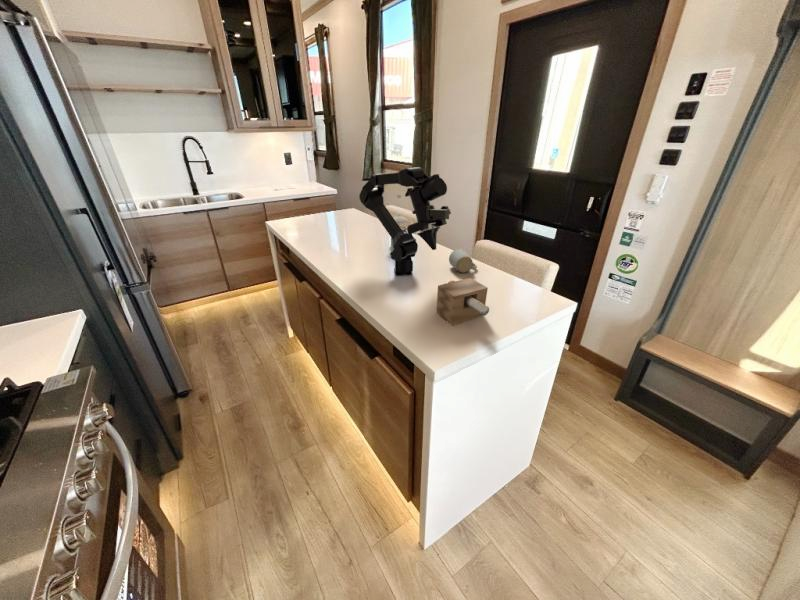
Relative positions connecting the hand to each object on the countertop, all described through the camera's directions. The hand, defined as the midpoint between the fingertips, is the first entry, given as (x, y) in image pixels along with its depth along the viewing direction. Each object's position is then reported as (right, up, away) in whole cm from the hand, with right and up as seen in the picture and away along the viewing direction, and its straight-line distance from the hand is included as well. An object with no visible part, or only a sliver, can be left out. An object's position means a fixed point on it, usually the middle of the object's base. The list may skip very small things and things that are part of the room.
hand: (434, 249), depth 111 cm
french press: (-13, +7, +43) cm, 46 cm away
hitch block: (+6, -22, -12) cm, 26 cm away
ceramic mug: (+14, -5, +20) cm, 25 cm away
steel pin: (+8, -19, -16) cm, 26 cm away
